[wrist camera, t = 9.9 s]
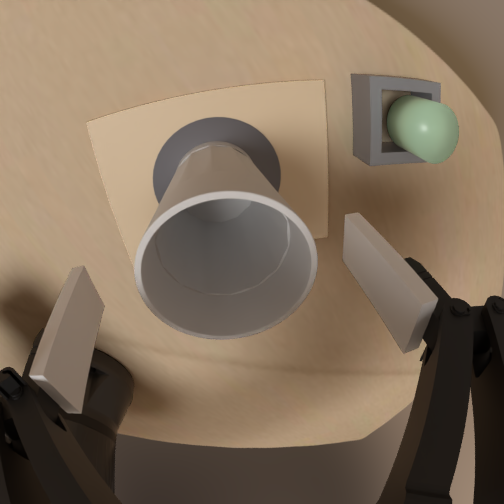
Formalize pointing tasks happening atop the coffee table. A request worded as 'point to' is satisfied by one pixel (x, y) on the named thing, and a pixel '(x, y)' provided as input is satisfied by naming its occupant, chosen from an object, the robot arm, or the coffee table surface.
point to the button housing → (370, 116)
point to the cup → (224, 249)
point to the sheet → (216, 129)
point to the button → (423, 128)
